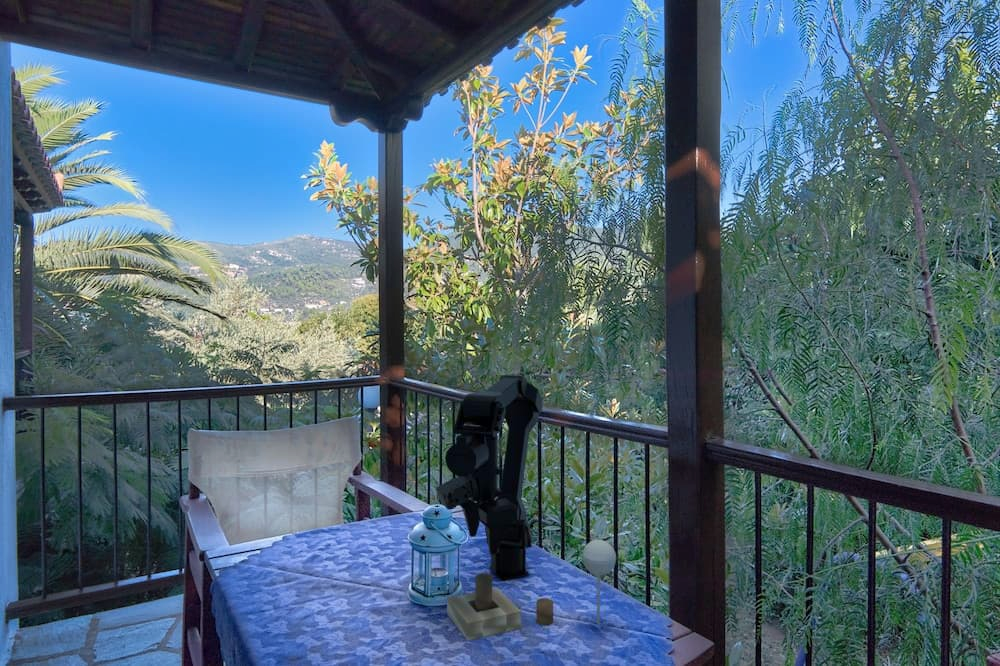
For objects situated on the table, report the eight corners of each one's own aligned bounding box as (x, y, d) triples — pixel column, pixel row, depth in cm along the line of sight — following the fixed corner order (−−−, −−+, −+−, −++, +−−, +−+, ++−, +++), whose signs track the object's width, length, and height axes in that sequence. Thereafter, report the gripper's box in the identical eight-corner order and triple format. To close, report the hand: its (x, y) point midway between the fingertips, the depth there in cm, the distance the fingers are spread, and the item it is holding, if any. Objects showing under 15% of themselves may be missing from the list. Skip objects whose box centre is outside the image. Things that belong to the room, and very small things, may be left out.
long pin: (487, 615, 111) (488, 572, 111) (494, 623, 108) (495, 578, 108) (472, 618, 110) (472, 574, 110) (479, 626, 107) (479, 581, 107)
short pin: (548, 616, 111) (548, 597, 111) (556, 623, 109) (556, 604, 108) (533, 619, 110) (533, 600, 110) (541, 627, 107) (541, 607, 107)
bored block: (497, 603, 116) (497, 587, 116) (520, 628, 107) (521, 611, 107) (447, 613, 112) (447, 597, 112) (467, 640, 103) (467, 623, 102)
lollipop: (607, 637, 104) (608, 550, 103) (575, 627, 107) (576, 543, 107) (620, 622, 109) (621, 538, 109) (589, 613, 112) (590, 532, 112)
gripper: (424, 455, 118) (425, 534, 119) (460, 480, 101) (460, 573, 102) (477, 449, 123) (477, 525, 124) (520, 472, 106) (520, 561, 107)
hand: (482, 544), depth 114 cm, fingers open, 9 cm apart
